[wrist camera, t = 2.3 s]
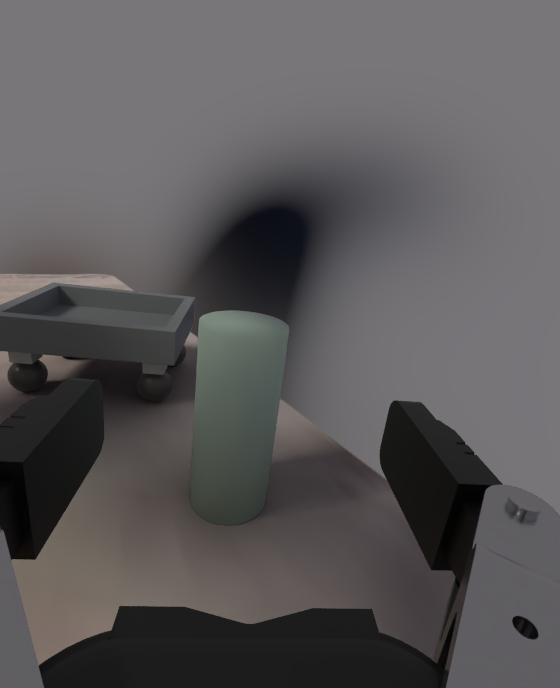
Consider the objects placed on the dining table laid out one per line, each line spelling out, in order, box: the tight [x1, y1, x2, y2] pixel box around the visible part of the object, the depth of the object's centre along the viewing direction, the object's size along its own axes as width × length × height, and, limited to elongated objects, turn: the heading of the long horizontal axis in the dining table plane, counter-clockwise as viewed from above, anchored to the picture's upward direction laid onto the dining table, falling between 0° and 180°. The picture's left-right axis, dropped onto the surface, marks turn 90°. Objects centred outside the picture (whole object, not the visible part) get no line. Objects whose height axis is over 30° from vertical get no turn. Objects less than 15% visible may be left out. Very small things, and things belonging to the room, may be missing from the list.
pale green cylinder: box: [190, 311, 289, 525], centre depth 24 cm, size 5×5×12 cm
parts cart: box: [0, 283, 195, 401], centre depth 38 cm, size 15×12×8 cm
